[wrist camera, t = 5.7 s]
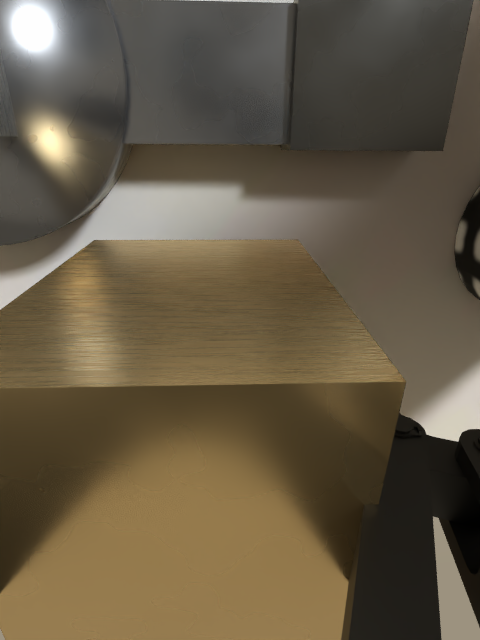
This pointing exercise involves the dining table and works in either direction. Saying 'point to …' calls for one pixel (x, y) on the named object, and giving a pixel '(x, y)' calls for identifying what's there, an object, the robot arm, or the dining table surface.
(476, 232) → the white-spotted black cylinder
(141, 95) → the grey handled disc
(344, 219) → the dining table surface
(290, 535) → the golden tan block
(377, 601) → the robot arm
